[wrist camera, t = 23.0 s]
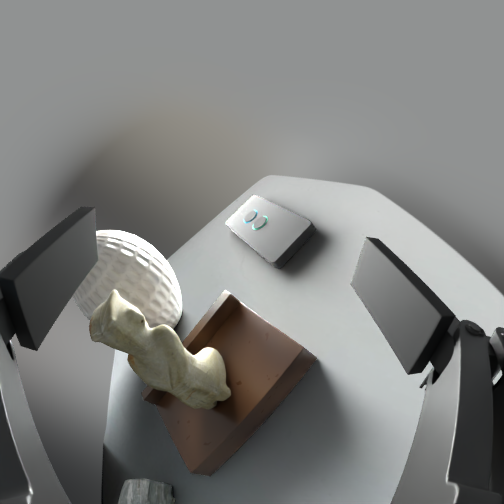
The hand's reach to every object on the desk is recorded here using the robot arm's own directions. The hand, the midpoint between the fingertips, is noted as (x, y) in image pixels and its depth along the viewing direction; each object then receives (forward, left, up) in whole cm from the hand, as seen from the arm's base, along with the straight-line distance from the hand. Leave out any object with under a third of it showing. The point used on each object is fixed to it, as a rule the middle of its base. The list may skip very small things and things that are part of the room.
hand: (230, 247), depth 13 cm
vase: (+11, -34, -19) cm, 41 cm away
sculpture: (+10, -11, -16) cm, 22 cm away
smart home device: (-11, -28, -19) cm, 36 cm away
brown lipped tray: (+10, -11, -19) cm, 24 cm away
